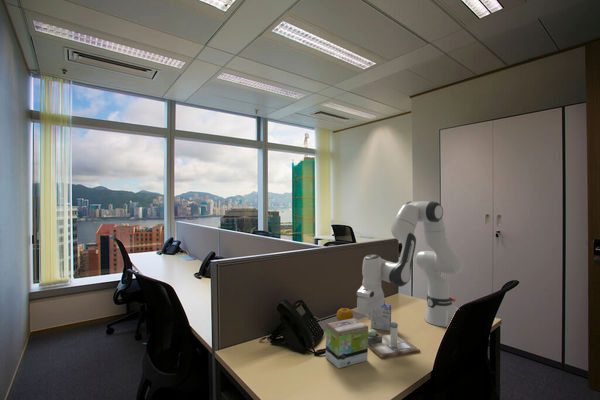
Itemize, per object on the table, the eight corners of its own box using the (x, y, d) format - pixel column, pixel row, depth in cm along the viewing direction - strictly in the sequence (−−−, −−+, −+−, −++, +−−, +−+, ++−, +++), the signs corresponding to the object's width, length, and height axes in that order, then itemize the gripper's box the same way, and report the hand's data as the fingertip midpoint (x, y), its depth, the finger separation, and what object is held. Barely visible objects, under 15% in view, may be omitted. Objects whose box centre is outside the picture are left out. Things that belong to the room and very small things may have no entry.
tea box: (338, 370, 112) (339, 332, 113) (325, 357, 121) (325, 322, 122) (368, 360, 119) (368, 325, 120) (353, 350, 128) (353, 316, 129)
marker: (394, 345, 131) (394, 322, 131) (398, 348, 128) (399, 324, 128) (388, 346, 130) (388, 322, 130) (393, 349, 127) (393, 325, 127)
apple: (341, 329, 149) (342, 312, 150) (333, 323, 158) (333, 306, 158) (356, 326, 153) (356, 309, 153) (346, 320, 161) (347, 304, 162)
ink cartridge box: (391, 327, 153) (391, 300, 153) (390, 331, 147) (390, 303, 148) (372, 324, 156) (372, 297, 157) (370, 328, 151) (370, 300, 152)
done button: (372, 334, 138) (372, 328, 138) (377, 338, 134) (377, 332, 134) (364, 335, 137) (364, 329, 137) (369, 339, 133) (369, 333, 133)
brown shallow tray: (394, 334, 144) (394, 326, 144) (419, 352, 127) (419, 342, 127) (359, 339, 138) (359, 331, 138) (380, 358, 121) (380, 349, 121)
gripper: (375, 284, 146) (375, 311, 145) (354, 292, 130) (354, 323, 130) (387, 286, 141) (387, 314, 141) (367, 295, 126) (366, 327, 126)
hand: (371, 318), depth 135 cm, fingers closed
